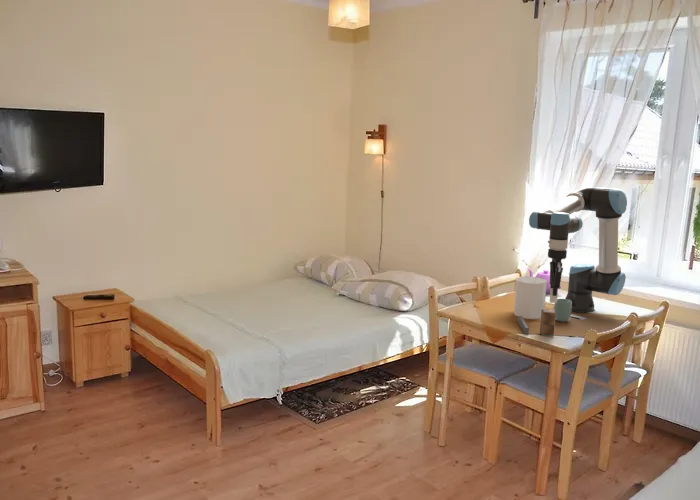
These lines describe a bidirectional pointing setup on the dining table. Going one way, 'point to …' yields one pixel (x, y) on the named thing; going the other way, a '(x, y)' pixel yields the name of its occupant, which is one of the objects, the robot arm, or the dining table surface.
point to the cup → (563, 309)
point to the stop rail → (523, 325)
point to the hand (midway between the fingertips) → (553, 302)
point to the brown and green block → (547, 322)
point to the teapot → (545, 276)
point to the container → (530, 297)
